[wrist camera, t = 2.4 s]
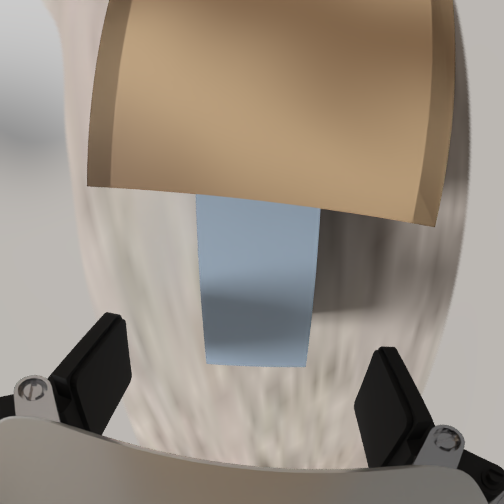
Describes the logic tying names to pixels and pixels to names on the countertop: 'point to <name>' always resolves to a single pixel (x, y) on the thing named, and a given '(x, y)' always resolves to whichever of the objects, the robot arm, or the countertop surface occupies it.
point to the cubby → (278, 102)
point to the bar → (256, 280)
